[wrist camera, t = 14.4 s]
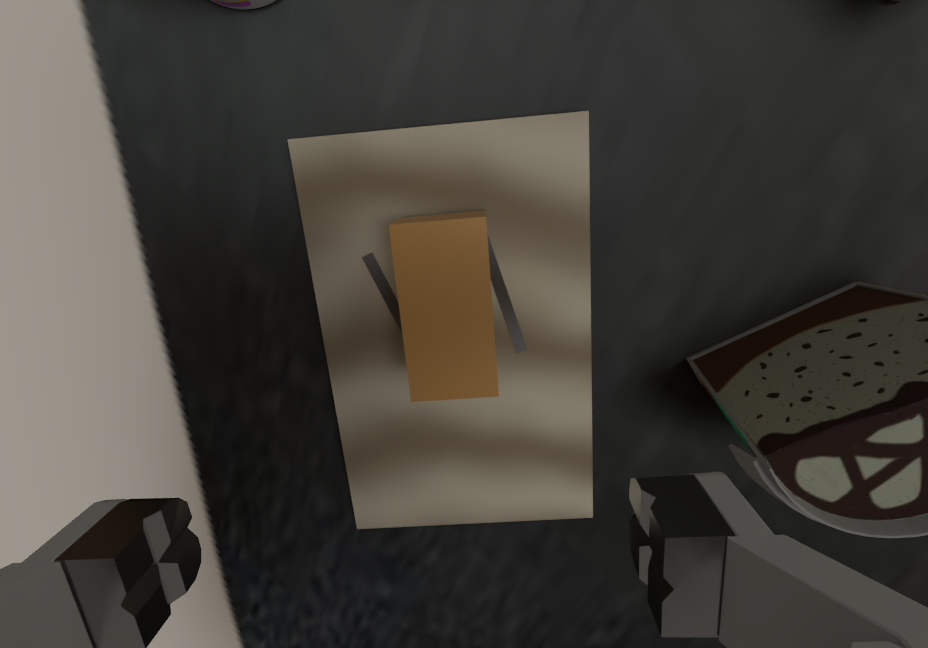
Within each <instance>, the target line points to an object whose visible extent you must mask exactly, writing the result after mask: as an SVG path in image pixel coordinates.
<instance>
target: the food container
mask: <svg viewBox="0 0 928 648" xmlns="http://www.w3.org/2000/svg"><path fill="white" fill-rule="evenodd" d="M686 360H687V362H688V363H689V365H690V367H691V369H692V370H693V372H694V374H695V375H696V377H697V378H698V380H699V381H700V382H701V384H702V385H703V386H704V388H705V389H706V391H707V392H708V393H709V395H710V396H711V397H712V399H713V400H714V402H715V403H716V404H717V406H718V407H719V409H720V410H721V411H722V413H723V414H724V415H725V417H726V418H727V420H728V421H729V422H730V424H731V425H732V426H733V428H734V429H735V431H736V432H737V433H738V435H739V436H740V437H741V439H742V440H743V442H744V443H745V444H746V446H747V447H748V448H749V450H750V451H751V453H752V454H753V455H754V457H755V458H754V457H752V456H750V455H749V454H747V453H746V452H744V451H743V450H741V449H739V448H738V447H736V446H735V445H733V444H732V443H731V444H730V445H728V446H729V448H730V449H731V451H732V453H733V455H734V456H735V458H736V460H737V462H738V463H739V464H740V465H741V467H742V468H743V469H744V470H745V471H746V473H747V474H748V475H749V476H750V477H751V478H752V479H753V480H754V481H755V482H757V483H758V484H759V485H760V486H761V487H763V488H764V489H765V490H766V491H768V492H769V493H771V494H772V495H773V496H775V497H776V498H778V499H779V500H781V501H782V502H784V503H785V504H787V505H788V506H789V507H791V508H793V509H794V510H796V511H798V512H800V513H801V514H803V515H805V516H807V517H808V518H810V519H813V520H816V521H818V522H821V523H824V524H826V525H828V526H831V527H834V528H836V529H839V530H842V531H845V532H848V533H853V534H858V535H863V536H868V537H881V538H904V537H918V536H924V535H928V295H925V294H920V293H915V292H910V291H905V290H900V289H895V288H890V287H885V286H879V285H874V284H869V283H864V282H859V281H855V282H853V283H851V284H849V285H846V286H844V287H842V288H840V289H838V290H835V291H833V292H831V293H829V294H827V295H824V296H822V297H820V298H818V299H816V300H813V301H811V302H809V303H807V304H804V305H802V306H800V307H798V308H796V309H793V310H791V311H789V312H787V313H785V314H782V315H780V316H778V317H776V318H774V319H771V320H769V321H767V322H765V323H763V324H760V325H758V326H756V327H754V328H752V329H749V330H747V331H745V332H743V333H741V334H738V335H736V336H734V337H732V338H730V339H727V340H725V341H723V342H721V343H719V344H716V345H714V346H712V347H710V348H707V349H705V350H703V351H701V352H699V353H696V354H694V355H692V356H690V357H688V358H686Z"/></svg>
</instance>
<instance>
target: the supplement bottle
mask: <svg viewBox="0 0 928 648" xmlns="http://www.w3.org/2000/svg"><path fill="white" fill-rule="evenodd" d="M210 1H213V2H215V3H217V4H220V5H222V6H225V7H229V8H234V9H255V8H260V7H263V6H266V5H268V4H271V3H273V2H274V1H276V0H210Z"/></svg>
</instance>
